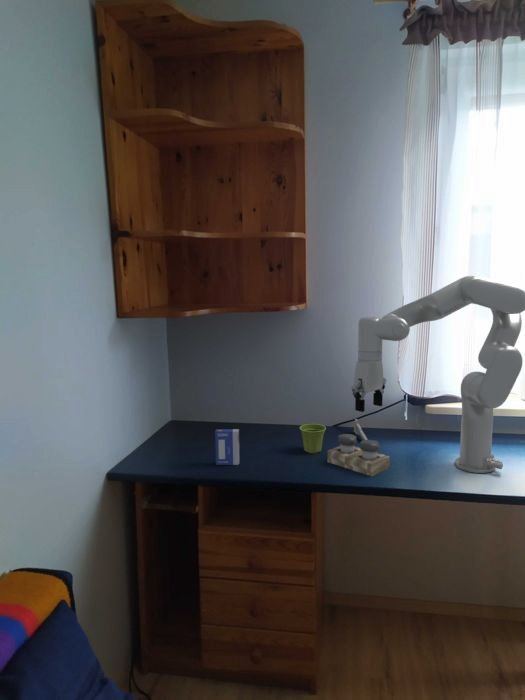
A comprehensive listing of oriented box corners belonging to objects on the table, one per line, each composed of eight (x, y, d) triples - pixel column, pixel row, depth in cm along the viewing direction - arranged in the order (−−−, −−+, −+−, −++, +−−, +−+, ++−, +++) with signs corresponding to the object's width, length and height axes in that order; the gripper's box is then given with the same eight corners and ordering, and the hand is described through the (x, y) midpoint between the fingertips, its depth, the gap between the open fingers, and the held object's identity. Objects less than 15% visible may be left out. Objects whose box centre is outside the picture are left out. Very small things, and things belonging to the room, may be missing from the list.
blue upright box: (215, 465, 180) (215, 430, 178) (216, 462, 182) (215, 428, 181) (239, 465, 180) (238, 430, 178) (239, 462, 182) (239, 428, 180)
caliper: (353, 433, 214) (353, 418, 213) (356, 433, 214) (356, 418, 213) (369, 450, 194) (370, 433, 193) (372, 450, 194) (372, 433, 193)
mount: (389, 468, 176) (389, 456, 175) (371, 476, 169) (371, 464, 168) (345, 454, 188) (345, 443, 188) (327, 461, 182) (327, 450, 181)
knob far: (359, 454, 181) (360, 436, 180) (348, 459, 177) (349, 440, 176) (345, 450, 186) (345, 432, 185) (334, 454, 182) (334, 436, 181)
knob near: (382, 461, 175) (382, 442, 174) (371, 466, 171) (371, 447, 170) (367, 457, 179) (367, 438, 178) (356, 461, 175) (356, 442, 174)
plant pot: (326, 455, 188) (326, 431, 187) (299, 454, 189) (299, 431, 187) (325, 446, 197) (325, 424, 196) (299, 446, 198) (300, 423, 197)
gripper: (376, 351, 178) (375, 401, 181) (343, 358, 167) (342, 411, 169) (395, 354, 173) (394, 405, 176) (363, 360, 161) (362, 415, 164)
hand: (368, 408), depth 172 cm, fingers open, 9 cm apart
